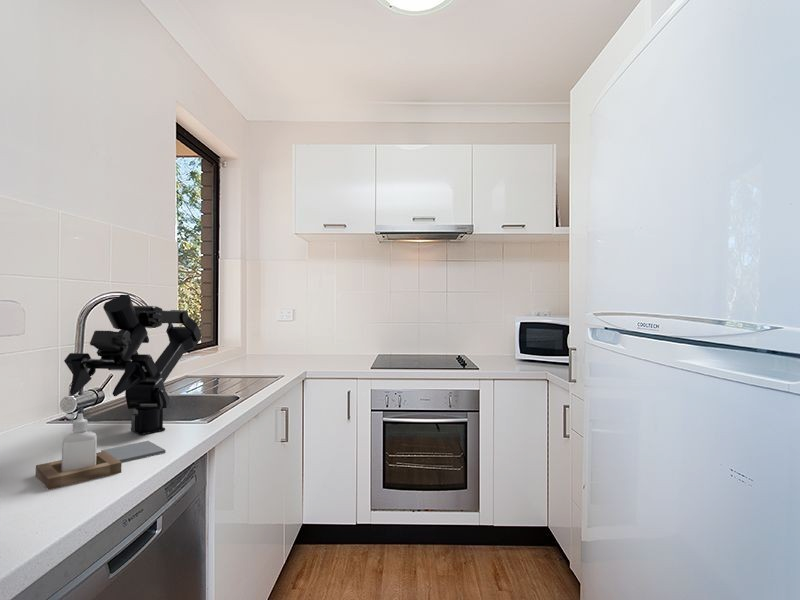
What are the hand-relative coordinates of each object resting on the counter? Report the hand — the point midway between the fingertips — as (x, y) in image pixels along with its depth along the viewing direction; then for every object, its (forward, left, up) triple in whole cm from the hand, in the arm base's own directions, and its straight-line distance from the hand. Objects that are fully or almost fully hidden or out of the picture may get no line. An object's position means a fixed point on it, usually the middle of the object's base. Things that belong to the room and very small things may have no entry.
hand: (92, 394), depth 99 cm
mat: (-8, +1, -14) cm, 16 cm away
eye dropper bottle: (+4, +7, -15) cm, 17 cm away
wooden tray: (+4, +7, -14) cm, 16 cm away
